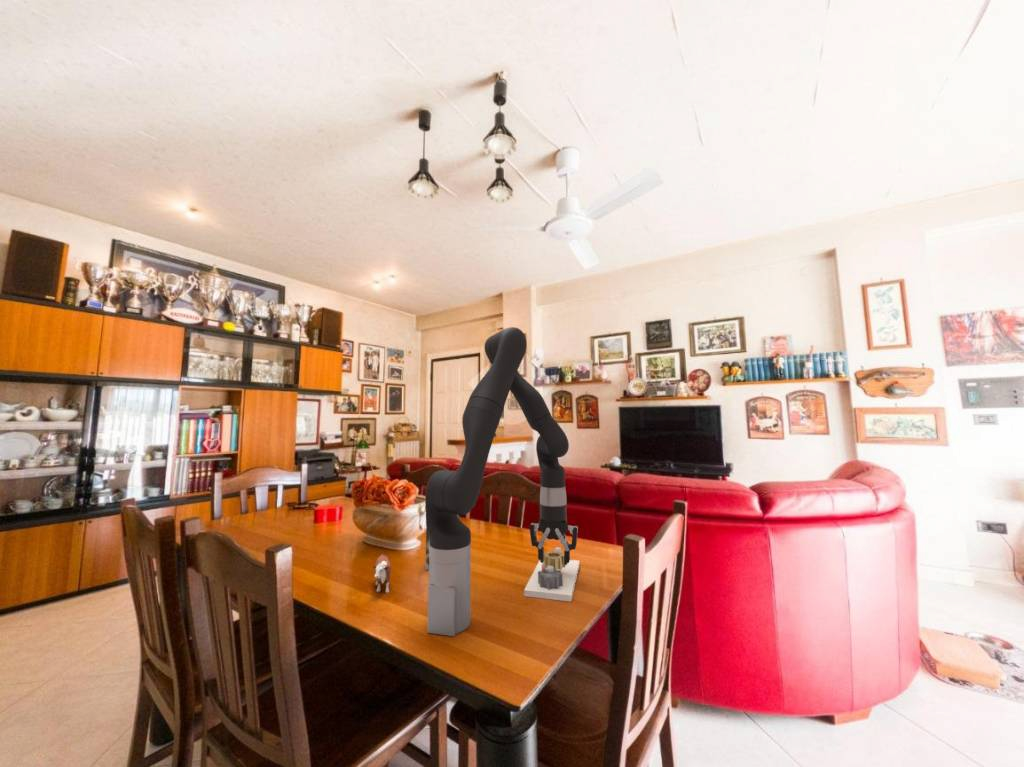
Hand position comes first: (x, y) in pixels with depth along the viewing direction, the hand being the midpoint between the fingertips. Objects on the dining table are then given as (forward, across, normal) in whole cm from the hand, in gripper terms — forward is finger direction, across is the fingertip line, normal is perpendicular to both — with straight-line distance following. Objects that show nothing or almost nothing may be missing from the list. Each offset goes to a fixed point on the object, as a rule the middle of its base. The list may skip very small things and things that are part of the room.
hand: (554, 562), depth 107 cm
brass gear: (+1, 0, 0) cm, 1 cm away
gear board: (+5, 0, 0) cm, 5 cm away
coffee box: (+5, -35, +1) cm, 35 cm away
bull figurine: (+5, -44, -17) cm, 47 cm away
